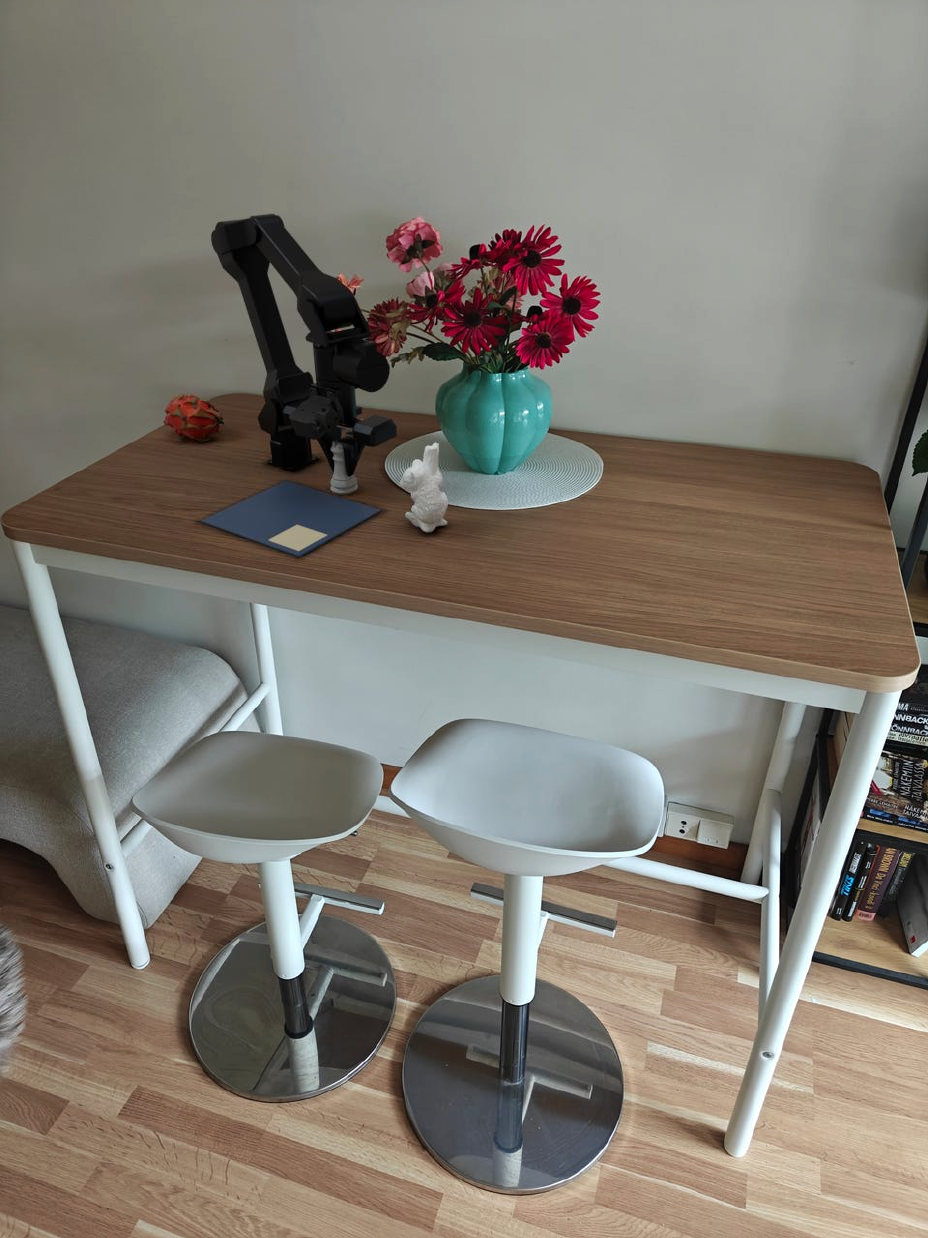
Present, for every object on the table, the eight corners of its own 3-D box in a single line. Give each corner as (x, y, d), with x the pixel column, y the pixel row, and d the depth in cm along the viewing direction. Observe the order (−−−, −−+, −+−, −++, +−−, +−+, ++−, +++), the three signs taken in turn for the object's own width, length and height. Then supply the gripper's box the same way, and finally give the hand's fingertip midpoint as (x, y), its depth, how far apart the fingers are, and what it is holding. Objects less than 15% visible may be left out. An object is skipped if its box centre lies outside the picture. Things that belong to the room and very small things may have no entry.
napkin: (285, 482, 144) (285, 480, 144) (381, 511, 135) (380, 509, 135) (201, 522, 132) (200, 520, 132) (299, 557, 122) (299, 555, 122)
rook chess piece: (360, 493, 141) (357, 446, 136) (332, 497, 139) (328, 449, 135) (355, 482, 144) (352, 436, 140) (328, 486, 143) (323, 439, 139)
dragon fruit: (171, 438, 166) (225, 456, 163) (145, 425, 157) (201, 444, 154) (186, 396, 166) (240, 413, 163) (160, 380, 157) (217, 398, 154)
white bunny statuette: (422, 510, 135) (420, 435, 129) (461, 519, 132) (461, 443, 126) (394, 533, 129) (390, 455, 122) (434, 542, 126) (433, 463, 120)
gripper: (251, 379, 131) (264, 477, 139) (347, 401, 122) (354, 505, 130) (303, 361, 139) (312, 455, 147) (396, 381, 130) (401, 480, 138)
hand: (342, 473), depth 140 cm, fingers closed on rook chess piece, 3 cm apart
